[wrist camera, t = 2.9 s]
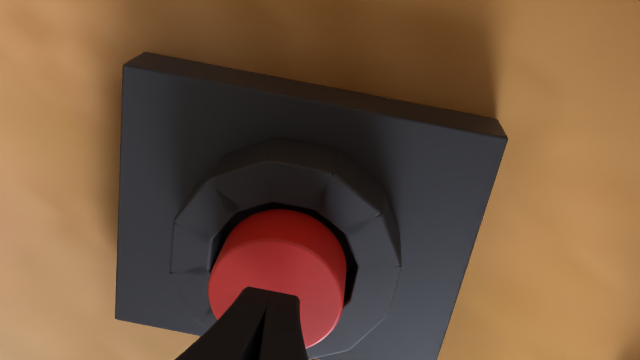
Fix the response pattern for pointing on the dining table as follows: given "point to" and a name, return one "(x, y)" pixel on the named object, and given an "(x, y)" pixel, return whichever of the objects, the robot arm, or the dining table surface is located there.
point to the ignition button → (283, 267)
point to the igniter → (298, 196)
